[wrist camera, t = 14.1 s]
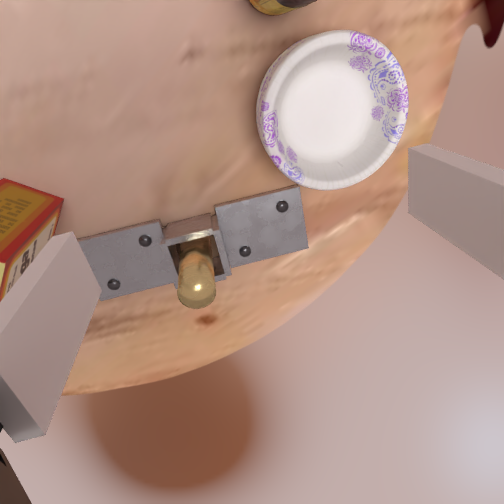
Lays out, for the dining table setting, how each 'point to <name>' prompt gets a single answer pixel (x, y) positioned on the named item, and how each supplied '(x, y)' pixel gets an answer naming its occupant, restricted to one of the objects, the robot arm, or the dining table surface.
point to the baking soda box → (23, 228)
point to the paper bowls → (332, 109)
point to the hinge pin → (196, 273)
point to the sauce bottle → (279, 5)
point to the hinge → (221, 225)
